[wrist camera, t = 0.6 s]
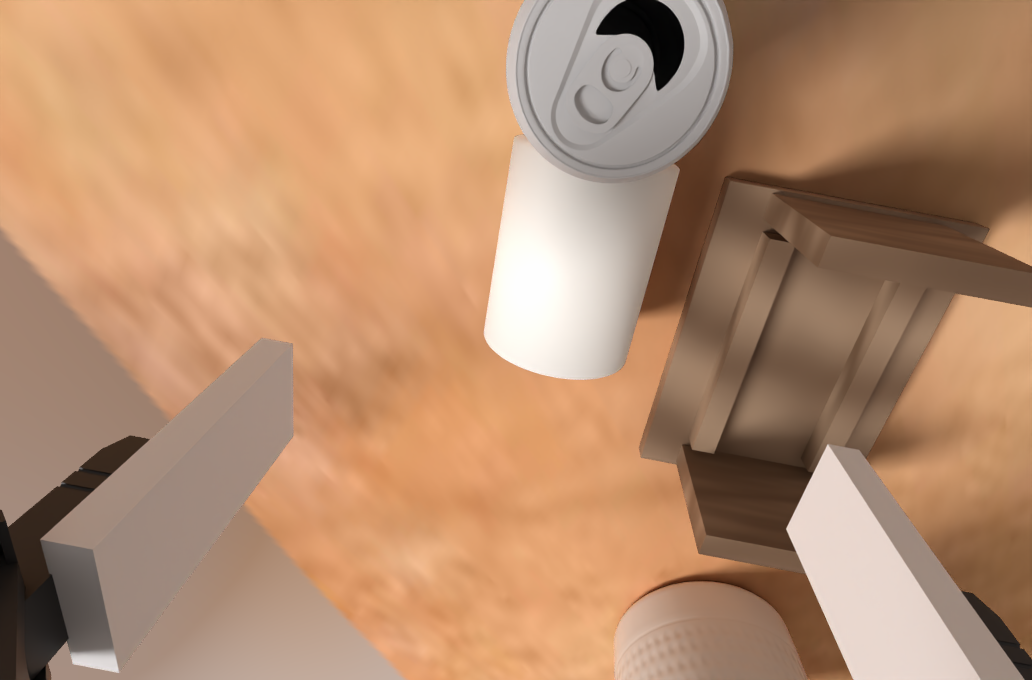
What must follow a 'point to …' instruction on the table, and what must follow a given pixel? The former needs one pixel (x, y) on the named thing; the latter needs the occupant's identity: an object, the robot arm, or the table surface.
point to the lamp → (704, 636)
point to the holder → (801, 349)
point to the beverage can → (618, 81)
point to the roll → (572, 266)
